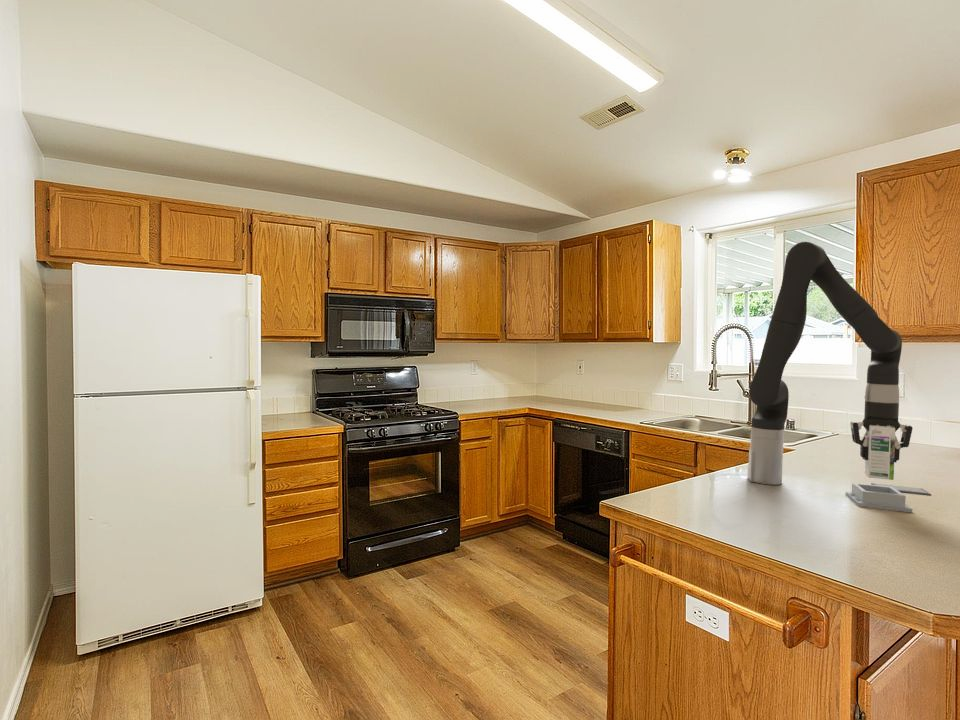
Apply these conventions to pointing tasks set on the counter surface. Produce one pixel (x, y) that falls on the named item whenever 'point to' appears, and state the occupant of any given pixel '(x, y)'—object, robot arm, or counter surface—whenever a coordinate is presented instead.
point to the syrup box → (880, 452)
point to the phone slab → (906, 489)
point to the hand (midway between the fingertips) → (879, 460)
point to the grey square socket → (878, 497)
